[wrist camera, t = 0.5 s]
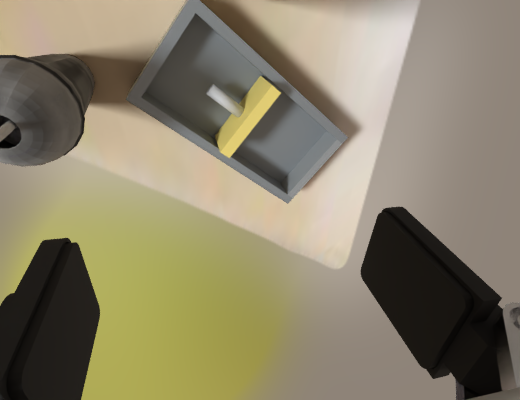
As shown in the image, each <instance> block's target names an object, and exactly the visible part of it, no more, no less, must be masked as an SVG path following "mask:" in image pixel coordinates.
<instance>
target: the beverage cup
mask: <svg viewBox="0 0 520 400" xmlns="http://www.w3.org/2000/svg"><path fill="white" fill-rule="evenodd" d="M94 83H95V82H94V78H93V74H92V72H91V71H90V69H89V67H88V66H87V65H86V64H85V63H84V62H83V61H81V60H80V59H78V58H76V57H74V56H71V55H68V54H50V55H42V56H35V57H28V58H25V57H20V56H16V55H0V162H1V163H5V164H11V165H17V166H36V165H43V164H45V163H48V162H51V161H54V160H56V159H58V158H60V157H61V156H63V155H66V154H67V153H68V152H69V151H71V150H72V149H73V148H74V147H76V146H77V144H78V142H79V141H80V139H81V137H82V135H83V133H84V122H85V117H84V115H85V112H86V110H87V107H88V105H89V102H90V100H91V97H92V95H93V90H94Z"/></svg>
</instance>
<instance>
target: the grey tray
mask: <svg viewBox="0 0 520 400" xmlns="http://www.w3.org/2000/svg"><path fill="white" fill-rule="evenodd" d="M260 76H262V77H263V78H264V79H265V80H267V81H268V82H269V83H270V84H271V85H273V86H274V87H275V88H276V89H277V90H278V91H279V92H281V94H280V95H279V96H278V98H277V99H276V100H275V101H274V103H273V104H272V105H271V107H270V108H269V109H268V110H267V112H266V113H265V114H264V115H263V117H262V118H261V119H260V120H259V122H258V123H257V124H256V125H255V127H254V128H253V129H252V130H251V132H250V133H249V134H248V136H247V137H246V138H245V139H244V141H243V142H242V143H241V144H240V146H239V147H238V148H237V149H236V151H235V152H234V153H233V154H232V156H231V157H230V158H228V157H227V156H225V155H224V154H222V153H220V150H219V147H218V144H217V141H216V138H215V135H216V134H217V132H218V131H219V130H220V128H221V127H222V126H223V124H224V123H225V122H226V120H227V119H228V118H229V116H230V115H231V114H232V113H231V112H229V111H228V110H227V109H226V108H224V107H223V106H222V105H220V104H219V103H218V102H216V101H215V100H214V99H212V98H211V97H210V96H208V95H207V94H206V93H207V90H208V89H209V87H210V86H211V85H212V84H214V85H215V86H217V87H218V88H219V89H220V90H222V91H223V92H224V93H225V94H227V95H228V96H229V97H231V98H232V99H233V100H234V101H236V102H237V103H238V104H239V103H240V102H241V101H242V99H243V98H244V97H245V95H246V94H247V93H248V91H249V90H250V89H251V87H252V86H253V85H254V83H255V82H256V81H257V79H258V78H259V77H260ZM126 100H127V101H129V102H130V103H132V104H133V105H135V106H136V107H138V108H140V109H141V110H143V111H144V112H146V113H147V114H149V115H150V116H152V117H154V118H155V119H157V120H158V121H160V122H161V123H163V124H165V125H166V126H168V127H169V128H171V129H172V130H174V131H175V132H177V133H179V134H180V135H182V136H183V137H185V138H186V139H188V140H189V141H191V142H193V143H194V144H196V145H197V146H199V147H200V148H202V149H203V150H205V151H207V152H208V153H210V154H211V155H213V156H214V157H216V158H217V159H219V160H221V161H222V162H224V163H225V164H227V165H228V166H230V167H231V168H233V169H235V170H236V171H238V172H239V173H241V174H242V175H244V176H245V177H247V178H249V179H250V180H252V181H253V182H255V183H256V184H258V185H259V186H261V187H263V188H264V189H266V190H267V191H269V192H270V193H272V194H273V195H275V196H277V197H278V198H280V199H281V200H283V201H284V202H286V203H287V204H288V203H289V202H290V201H291V200H292V199H293V197H294V196H295V195H296V194H297V193H298V192H299V191H300V190H301V189H302V188H303V186H304V185H305V184H306V183H307V182H308V181H309V180H310V179H311V178H312V177H313V175H314V174H315V173H316V172H317V171H318V170H319V169H320V168H321V167H322V166H323V164H324V163H325V162H326V161H327V160H328V159H329V158H330V157H331V156H332V155H333V153H334V152H335V151H336V150H337V149H338V148H339V147H340V146H341V145H342V144H343V142H344V141H345V140H346V139H347V138H348V137H347V136H346V135H345V134H344V133H343V132H342V131H341V130H340V129H338V128H337V127H336V126H335V125H334V124H333V123H332V122H331V121H330V120H329V119H328V118H327V117H325V116H324V115H323V114H322V113H321V112H320V111H319V110H318V109H317V108H316V107H315V106H314V105H312V104H311V103H310V102H309V101H308V100H307V99H306V98H305V97H304V96H303V95H302V94H301V93H300V92H298V91H297V90H296V89H295V88H294V87H293V86H292V85H291V84H290V83H289V82H288V81H287V80H285V79H284V78H283V77H282V76H281V75H280V74H279V73H278V72H277V71H276V70H275V69H274V68H272V67H271V66H270V65H269V64H268V63H267V62H266V61H265V60H264V59H263V58H262V57H261V56H259V55H258V54H257V53H256V52H255V51H254V50H253V49H252V48H251V47H250V46H249V45H248V44H247V43H245V42H244V41H243V40H242V39H241V38H240V37H239V36H238V35H237V34H236V33H235V32H234V31H232V30H231V29H230V28H229V27H228V26H227V25H226V24H225V23H224V22H223V21H222V20H221V19H219V18H218V17H217V16H216V15H215V14H214V13H213V12H212V11H211V10H210V9H209V8H208V7H206V6H205V5H204V4H203V3H202V2H201V1H200V0H186V1H185V3H184V5H183V6H182V8H181V9H180V11H179V13H178V14H177V16H176V17H175V19H174V21H173V22H172V24H171V25H170V27H169V29H168V30H167V32H166V33H165V35H164V36H163V38H162V40H161V41H160V43H159V44H158V46H157V48H156V49H155V51H154V52H153V54H152V56H151V57H150V59H149V60H148V62H147V64H146V65H145V67H144V68H143V70H142V72H141V73H140V75H139V76H138V78H137V80H136V81H135V83H134V84H133V86H132V87H131V89H130V91H129V93H128V96H127V98H126Z"/></svg>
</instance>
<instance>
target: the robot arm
mask: <svg viewBox="0 0 520 400" xmlns="http://www.w3.org/2000/svg"><path fill="white" fill-rule="evenodd" d="M361 277H362V279H363V281H364V282H365V284H366V285H367V287H368V288H369V290H370V291H371V293H372V294H373V296H374V297H375V299H376V300H377V302H378V303H379V305H380V306H381V308H382V309H383V311H384V312H385V314H386V315H387V317H388V318H389V320H390V321H391V323H392V324H393V326H394V327H395V329H396V330H397V332H398V333H399V335H400V336H401V338H402V339H403V341H404V342H405V344H406V345H407V347H408V348H409V350H410V351H411V353H412V354H413V356H414V357H415V359H416V360H417V361H418V363H419V364H420V366H421V367H423V368H425V369H427V371H428V372H429V374H430V375H431V377H432V378H433V379H435V378H439V377H443V376H447V375H449V373H450V372H451V373H452V374H453V376H454V377H455V379H456V400H520V303H510V304H506V305H505V307H504V308H503V309H502V308H501V307H500V306H498V303H499V301H500V300H501V299H502V298H501V297H500V296H499V295H498V294H497V293H496V292H495V291H494V290H493V289H492V288H491V287H489V286H488V285H487V284H486V283H485V282H484V281H483V280H482V279H481V278H480V277H479V276H477V275H476V274H475V273H474V272H473V271H472V270H471V269H470V268H469V267H468V266H467V265H465V264H464V263H463V262H462V261H461V260H460V259H459V258H458V257H457V256H456V255H455V254H454V253H452V252H451V251H450V250H449V249H448V248H447V247H446V246H445V245H444V244H443V243H442V242H440V241H439V240H438V239H437V238H436V237H435V236H434V235H433V234H432V233H431V232H430V231H429V230H427V229H426V228H425V227H424V226H423V225H422V224H421V223H420V222H419V221H418V220H417V219H415V218H414V217H413V216H412V215H411V214H410V213H409V212H408V211H407V210H406V209H404V208H403V207H391V208H385V209H383V210H382V212H381V213H380V214H378V216H377V219H376V223H375V226H374V229H373V232H372V235H371V239H370V242H369V245H368V248H367V251H366V255H365V258H364V261H363V264H362V267H361ZM99 317H100V309H99V304H98V301H97V298H96V295H95V292H94V289H93V286H92V283H91V281H90V277H89V274H88V271H87V269H86V266H85V263H84V260H83V257H82V254H81V251H80V248H79V245H78V244H77V243H71V241H70V240H69V239H68V238H62V239H51V240H44V241H42V243H41V244H40V246H39V248H38V250H37V252H36V253H35V255H34V257H33V259H32V261H31V263H30V265H29V267H28V269H27V270H26V272H25V274H24V276H23V278H22V280H21V282H20V283H19V285H18V287H17V289H16V291H15V293H12V294H10V295H8V296H7V297H6V298H5V299H4V301H3V302H2V304H1V306H0V400H81V397H82V392H83V387H84V383H85V379H86V375H87V371H88V366H89V362H90V357H91V353H92V349H93V344H94V340H95V334H96V331H97V326H98V322H99Z"/></svg>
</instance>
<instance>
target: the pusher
mask: <svg viewBox="0 0 520 400" xmlns="http://www.w3.org/2000/svg"><path fill="white" fill-rule="evenodd" d="M206 94H207V95H208V96H210V97H211V98H212V99H214V100H215V101H216V102H218V103H219V104H220V105H222V106H223V107H224V108H226V109H227V110H228V111H229V112H231V113H232V114H231V115H230V116H229V118H228V119H227V120H226V122H225V123H224V124H223V126H222V127H221V128H220V130H219V131H218V132H217V134H216V135H215V138H216V141H217V144H218V147H219V150H220V153H222V154H224V155H225V156H227V157H228V158H230V157H231V156H232V154H233V153H234V152H235V151H236V149H237V148H238V147H239V146H240V144H241V143H242V142H243V141H244V139H245V138H246V137H247V136H248V134H249V133H250V132H251V130H252V129H253V128H254V127H255V125H256V124H257V123H258V122H259V120H260V119H261V118H262V117H263V115H264V114H265V113H266V112H267V110H268V109H269V108H270V107H271V105H272V104H273V103H274V101H275V100H276V99H277V98H278V96H279V95H280V94H281V92H279V91H278V90H277V89H276V88H275V87H274V86H273V85H271V84H270V83H269V82H268V81H267V80H265V79H264V78H263V77H262V76H260V77H259V78H258V79H257V81H256V82H255V83H254V85H253V86H252V87H251V89H250V90H249V91H248V93H247V94H246V95H245V97H244V98H243V99H242V101H241V102H240V103H239V104H238V103H237V102H236V101H234V100H233V99H232V98H231V97H229V96H228V95H227V94H225V93H224V92H223V91H222V90H220V89H219V88H218V87H217V86H215V85H214V84H212V85H211V86H210V87H209V89H208V90H207V93H206Z"/></svg>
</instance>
